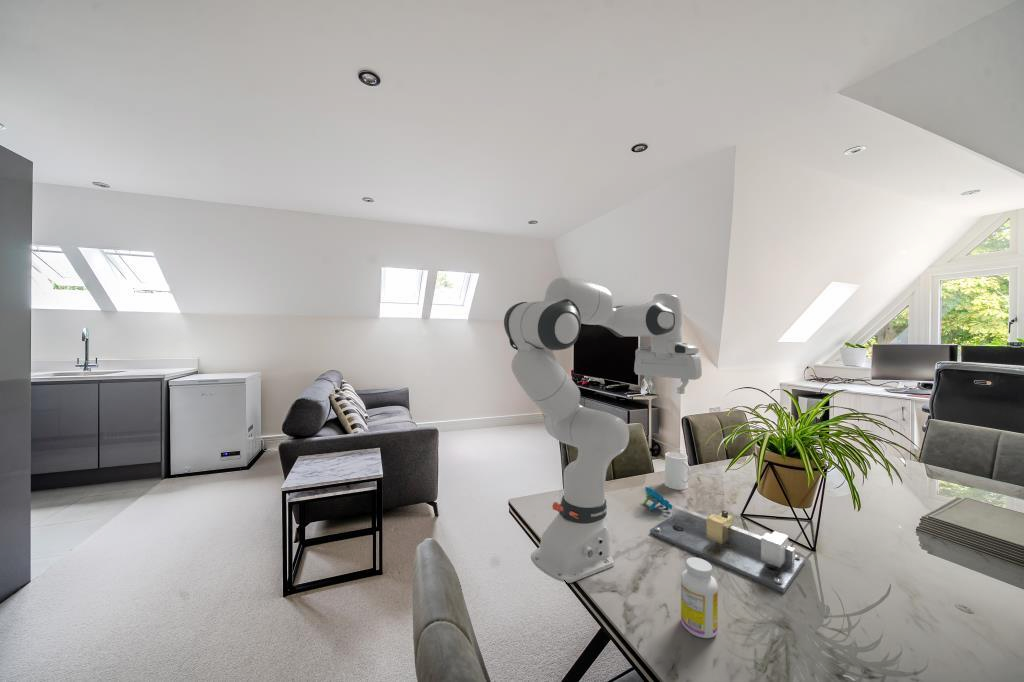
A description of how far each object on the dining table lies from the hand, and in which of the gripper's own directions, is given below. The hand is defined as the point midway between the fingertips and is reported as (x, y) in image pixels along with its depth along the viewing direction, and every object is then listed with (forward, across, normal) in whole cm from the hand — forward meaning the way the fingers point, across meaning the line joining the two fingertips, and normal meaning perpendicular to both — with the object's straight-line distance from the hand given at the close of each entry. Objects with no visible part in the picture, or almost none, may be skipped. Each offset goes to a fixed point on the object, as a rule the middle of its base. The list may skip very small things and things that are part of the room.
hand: (665, 391), depth 115 cm
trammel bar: (+40, +17, +1) cm, 44 cm away
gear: (+42, -7, +9) cm, 43 cm away
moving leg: (+40, +16, +1) cm, 43 cm away
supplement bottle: (+42, +25, -34) cm, 59 cm away
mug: (+42, -11, +32) cm, 54 cm away
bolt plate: (+42, +16, 0) cm, 45 cm away
